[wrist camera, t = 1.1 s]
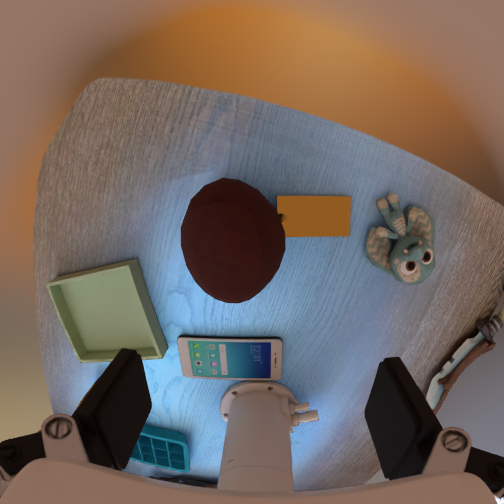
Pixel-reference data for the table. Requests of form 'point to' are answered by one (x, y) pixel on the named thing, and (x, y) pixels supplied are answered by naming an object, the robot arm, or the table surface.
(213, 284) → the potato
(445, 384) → the decorative knife
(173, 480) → the dark mineral chunk
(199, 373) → the smartphone
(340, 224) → the gold rectangular slab
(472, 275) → the table surface
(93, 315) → the tray
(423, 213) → the stuffed animal
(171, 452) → the ice cube tray
